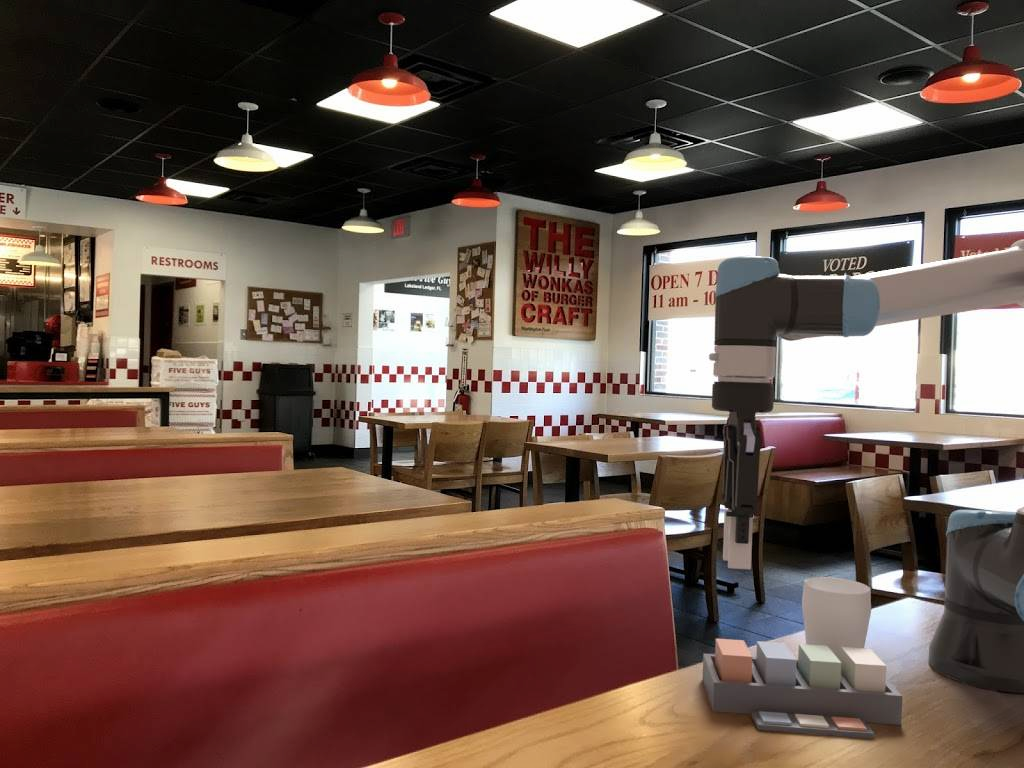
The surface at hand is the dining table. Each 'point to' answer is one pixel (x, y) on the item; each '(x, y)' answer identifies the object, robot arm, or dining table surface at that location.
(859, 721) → the strip
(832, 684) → the key sage
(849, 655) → the key ivory
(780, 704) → the keypad
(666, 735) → the dining table surface
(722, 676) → the key terracotta
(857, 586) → the cup
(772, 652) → the key slate
